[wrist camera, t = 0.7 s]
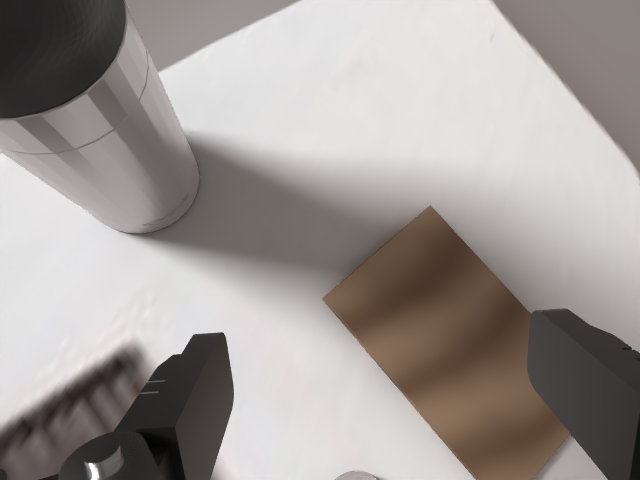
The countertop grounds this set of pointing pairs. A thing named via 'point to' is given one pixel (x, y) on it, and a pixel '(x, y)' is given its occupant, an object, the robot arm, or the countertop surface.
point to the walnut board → (452, 348)
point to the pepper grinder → (356, 476)
